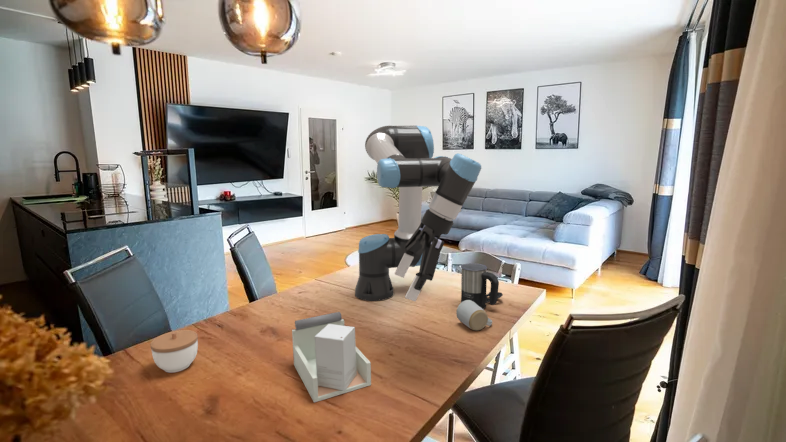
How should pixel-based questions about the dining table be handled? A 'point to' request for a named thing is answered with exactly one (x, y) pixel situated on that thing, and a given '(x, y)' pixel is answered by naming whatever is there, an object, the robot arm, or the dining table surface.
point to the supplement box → (335, 356)
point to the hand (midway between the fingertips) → (404, 286)
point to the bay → (307, 357)
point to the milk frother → (478, 285)
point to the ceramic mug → (472, 315)
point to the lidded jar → (175, 350)
